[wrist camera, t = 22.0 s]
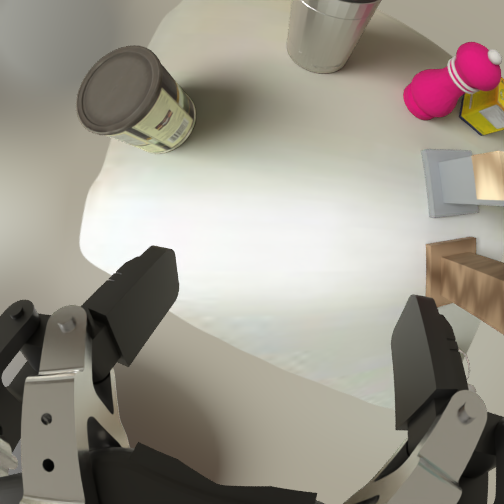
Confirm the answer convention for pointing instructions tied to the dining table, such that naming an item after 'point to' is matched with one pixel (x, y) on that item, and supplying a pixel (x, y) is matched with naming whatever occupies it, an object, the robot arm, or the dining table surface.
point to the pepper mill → (453, 81)
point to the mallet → (489, 175)
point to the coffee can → (135, 101)
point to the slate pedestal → (451, 183)
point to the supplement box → (484, 110)
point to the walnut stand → (466, 280)
